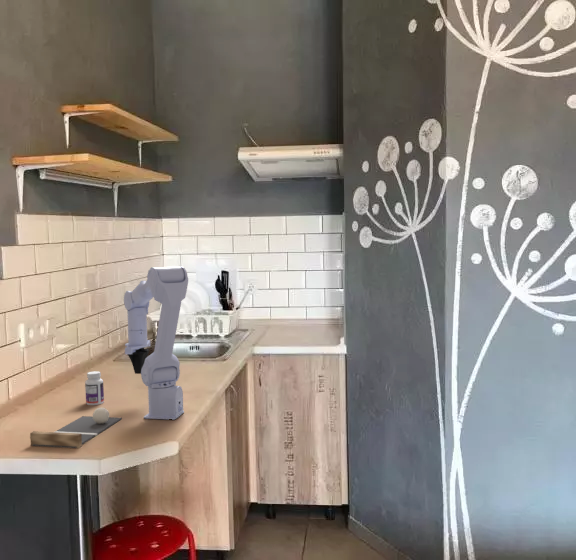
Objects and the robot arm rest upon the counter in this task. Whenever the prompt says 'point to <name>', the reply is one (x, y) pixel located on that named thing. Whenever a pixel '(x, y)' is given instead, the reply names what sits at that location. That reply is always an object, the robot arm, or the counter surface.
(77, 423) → the lane
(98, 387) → the pill bottle
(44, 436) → the backstop rail
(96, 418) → the ball
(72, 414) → the counter surface
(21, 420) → the counter surface
